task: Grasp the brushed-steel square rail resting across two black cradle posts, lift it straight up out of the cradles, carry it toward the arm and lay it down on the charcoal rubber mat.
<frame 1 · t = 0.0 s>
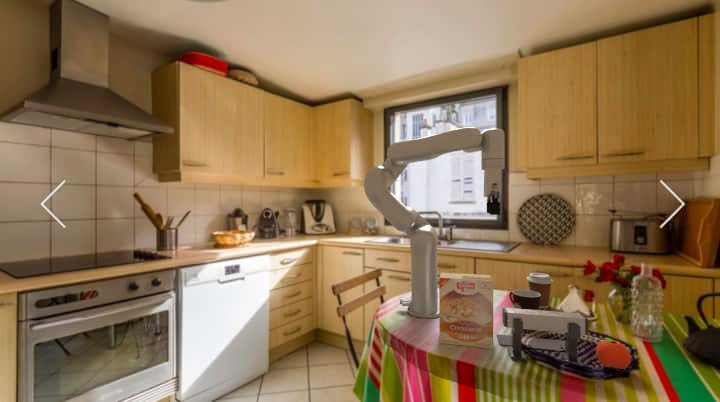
hand: (493, 213, 115), 37 cm above the table, tool pointing down, fingers open, 9 cm apart
steel rail: (543, 328, 86), point 8 cm above the table, touching left post, right post
coffeecake box: (465, 341, 97), on the table
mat: (535, 344, 95), on the table
coffee cup: (539, 305, 128), on the table
tomato: (611, 368, 82), on the table
right post: (571, 361, 85), on the table
coffee mug: (525, 321, 112), on the table
left post: (516, 355, 88), on the table
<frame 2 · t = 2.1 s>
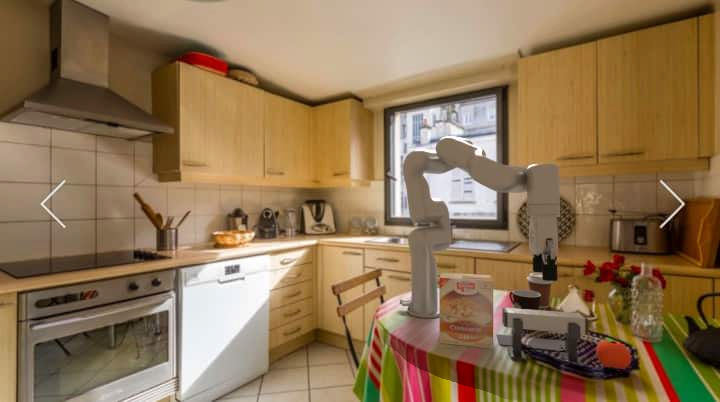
hand: (544, 276, 86), 22 cm above the table, tool pointing down, fingers open, 9 cm apart
nothing on the table moved.
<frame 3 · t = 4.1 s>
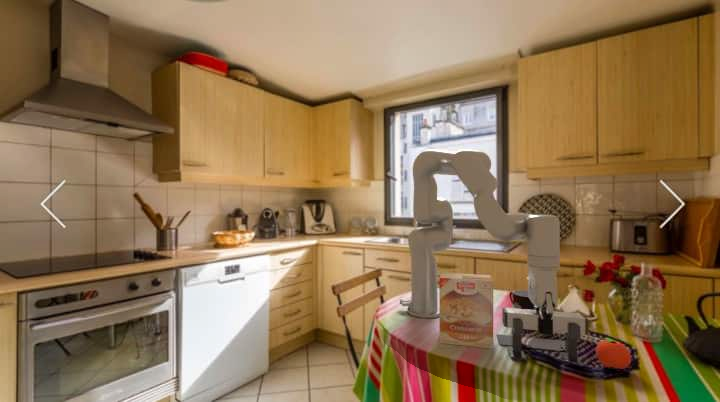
hand: (543, 329, 86), 8 cm above the table, tool pointing down, fingers closed on steel rail, 4 cm apart
steel rail: (543, 327, 86), point 8 cm above the table, touching gripper, left post, right post
everything else where it was.
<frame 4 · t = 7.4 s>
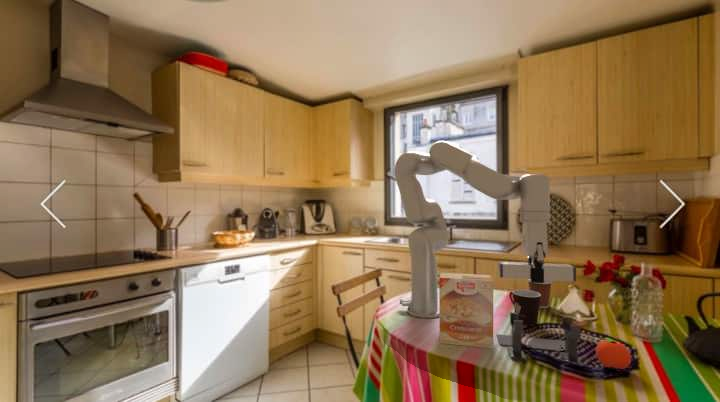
hand: (535, 279, 94), 19 cm above the table, tool pointing down, fingers closed on steel rail, 4 cm apart
steel rail: (535, 277, 94), point 19 cm above the table, touching gripper
everything else where it was.
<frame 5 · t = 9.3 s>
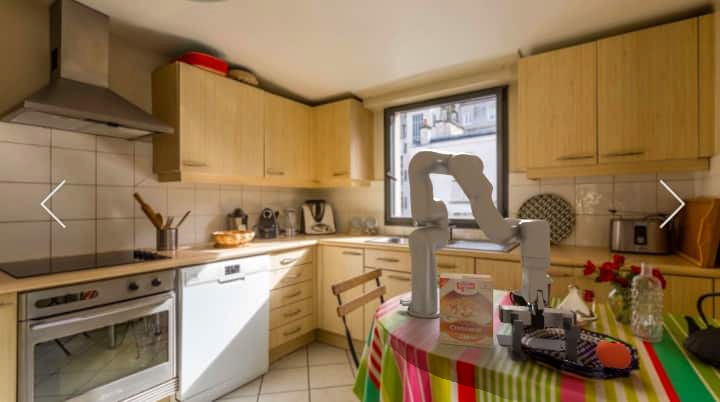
hand: (535, 324, 95), 6 cm above the table, tool pointing down, fingers closed on steel rail, 4 cm apart
steel rail: (535, 323, 95), point 6 cm above the table, touching gripper
everything else where it was.
when the fingers open (1 cm above the table, at t = 10.7 s): steel rail drops 1 cm, resting on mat.
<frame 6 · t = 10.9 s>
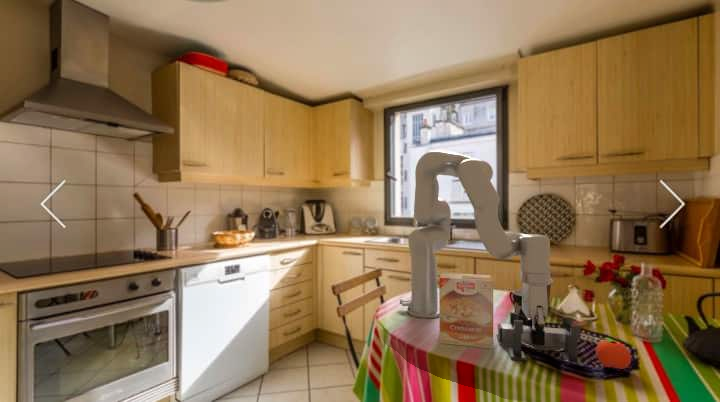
hand: (535, 338, 95), 2 cm above the table, tool pointing down, fingers open, 5 cm apart
steel rail: (534, 342, 95), resting on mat
everything else where it was.
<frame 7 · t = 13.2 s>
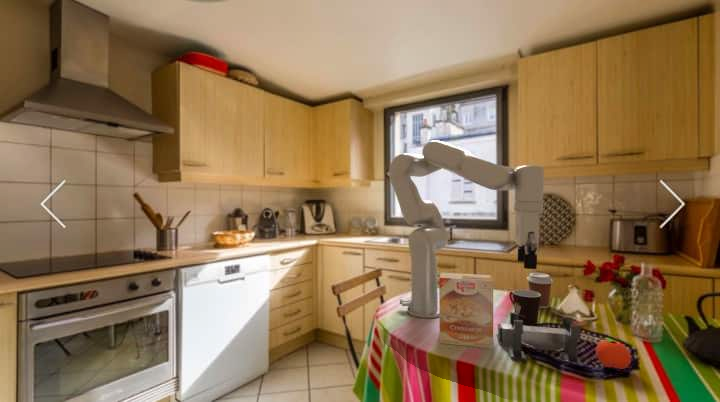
hand: (526, 264, 97), 22 cm above the table, tool pointing down, fingers open, 9 cm apart
nothing on the table moved.
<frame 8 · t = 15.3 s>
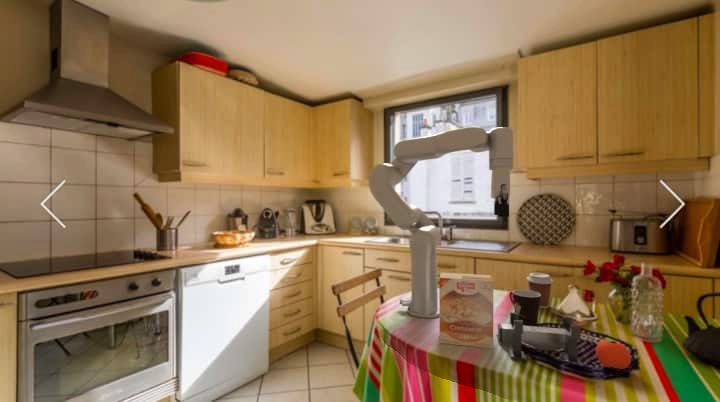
hand: (501, 215, 110), 36 cm above the table, tool pointing down, fingers open, 9 cm apart
nothing on the table moved.
at the end: steel rail inside the target area on the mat (0.1 cm from its centre), point 0.4 cm above the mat's base; steel rail resting on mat; the gripper is holding nothing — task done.
